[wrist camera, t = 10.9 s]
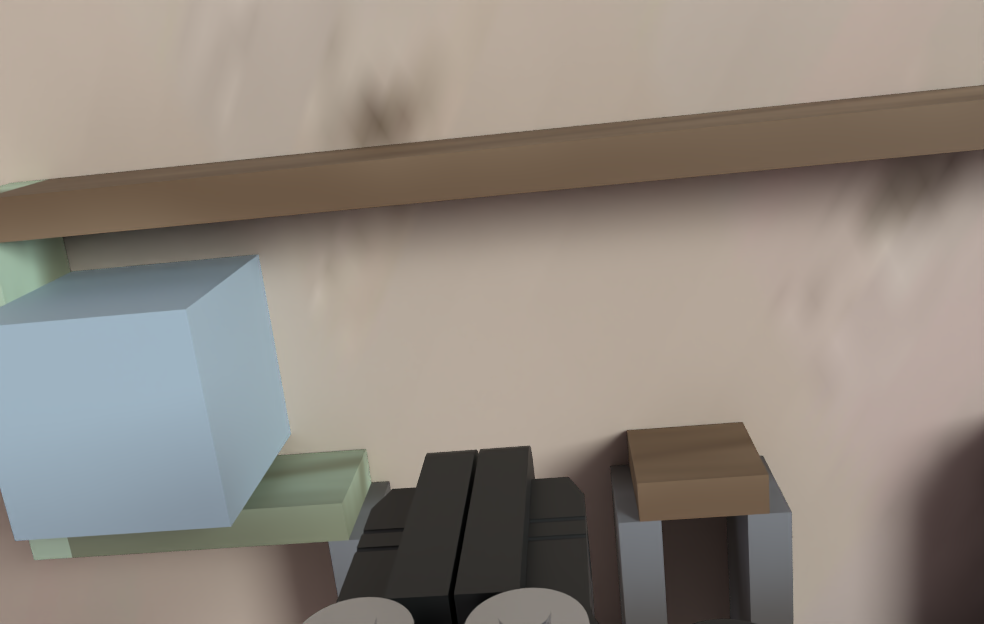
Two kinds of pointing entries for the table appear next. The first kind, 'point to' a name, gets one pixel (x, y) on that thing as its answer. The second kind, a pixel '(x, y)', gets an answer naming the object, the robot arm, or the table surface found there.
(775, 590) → the trap box
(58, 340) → the block
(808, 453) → the table surface
